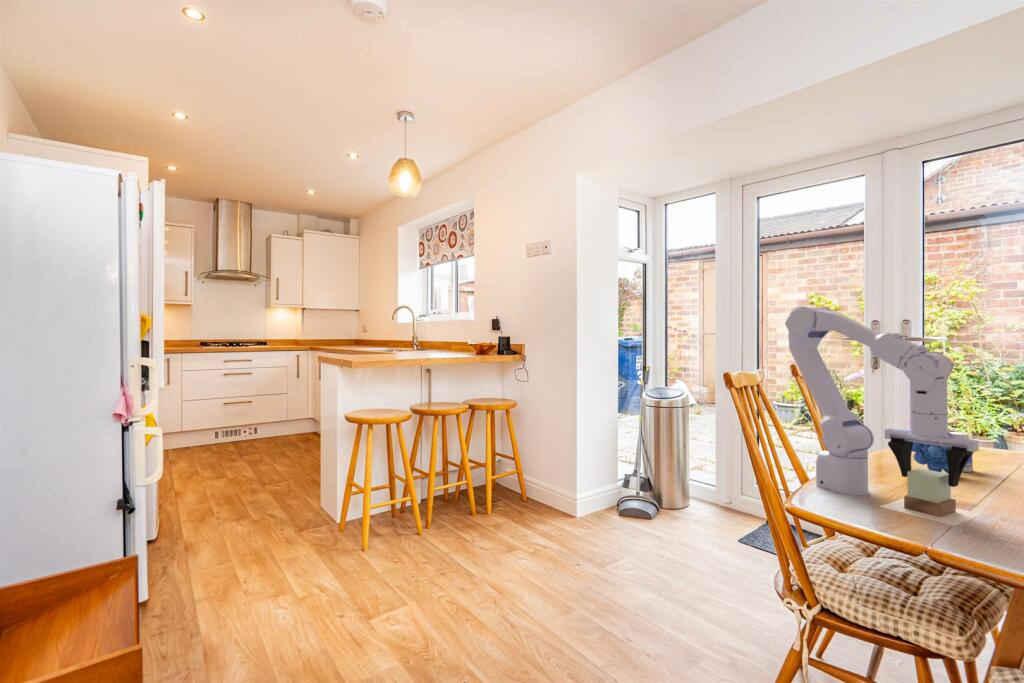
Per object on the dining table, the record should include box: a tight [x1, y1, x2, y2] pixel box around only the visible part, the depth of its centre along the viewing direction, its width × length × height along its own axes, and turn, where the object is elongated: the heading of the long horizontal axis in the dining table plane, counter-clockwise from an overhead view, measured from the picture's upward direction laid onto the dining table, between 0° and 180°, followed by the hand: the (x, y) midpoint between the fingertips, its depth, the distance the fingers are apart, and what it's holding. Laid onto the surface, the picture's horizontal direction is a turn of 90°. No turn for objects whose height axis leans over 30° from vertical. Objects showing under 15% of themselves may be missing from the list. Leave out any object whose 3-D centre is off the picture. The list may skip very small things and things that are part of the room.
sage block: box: [906, 467, 952, 503], centre depth 97 cm, size 5×5×5 cm
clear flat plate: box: [879, 498, 983, 527], centre depth 97 cm, size 12×12×1 cm
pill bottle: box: [948, 431, 974, 473], centre depth 129 cm, size 5×5×10 cm
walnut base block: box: [903, 494, 957, 518], centre depth 97 cm, size 6×6×2 cm
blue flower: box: [912, 431, 967, 473], centre depth 125 cm, size 12×7×12 cm, turn 43°
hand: (929, 480), depth 97 cm, fingers open, 7 cm apart
